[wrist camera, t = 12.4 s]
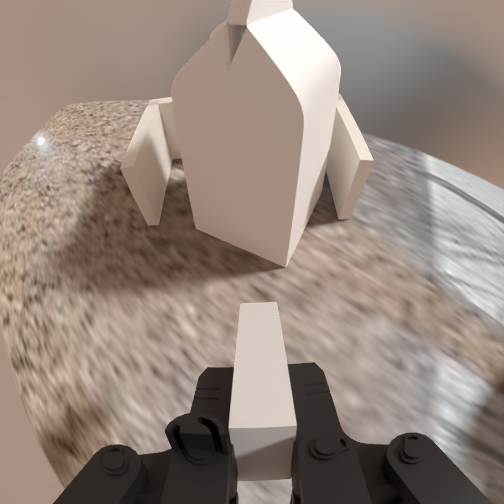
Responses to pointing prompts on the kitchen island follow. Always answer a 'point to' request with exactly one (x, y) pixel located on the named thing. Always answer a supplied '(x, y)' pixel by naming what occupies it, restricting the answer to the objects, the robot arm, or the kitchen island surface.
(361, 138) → the cubby
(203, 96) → the milk
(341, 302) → the kitchen island surface
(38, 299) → the kitchen island surface
